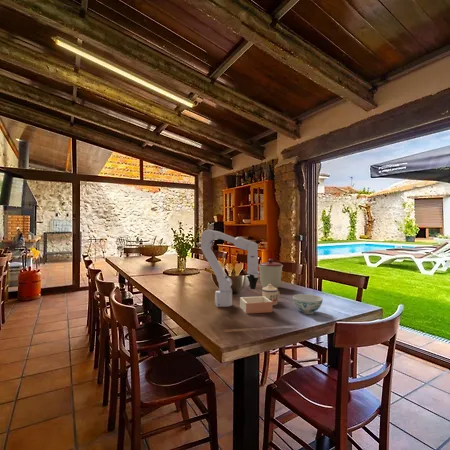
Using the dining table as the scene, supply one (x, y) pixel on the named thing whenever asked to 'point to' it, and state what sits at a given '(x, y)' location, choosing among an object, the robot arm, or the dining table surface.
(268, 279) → the canister
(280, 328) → the dining table surface
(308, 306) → the chinaware
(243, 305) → the box
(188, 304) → the dining table surface
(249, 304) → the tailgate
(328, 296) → the dining table surface
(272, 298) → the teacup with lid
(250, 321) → the dining table surface
